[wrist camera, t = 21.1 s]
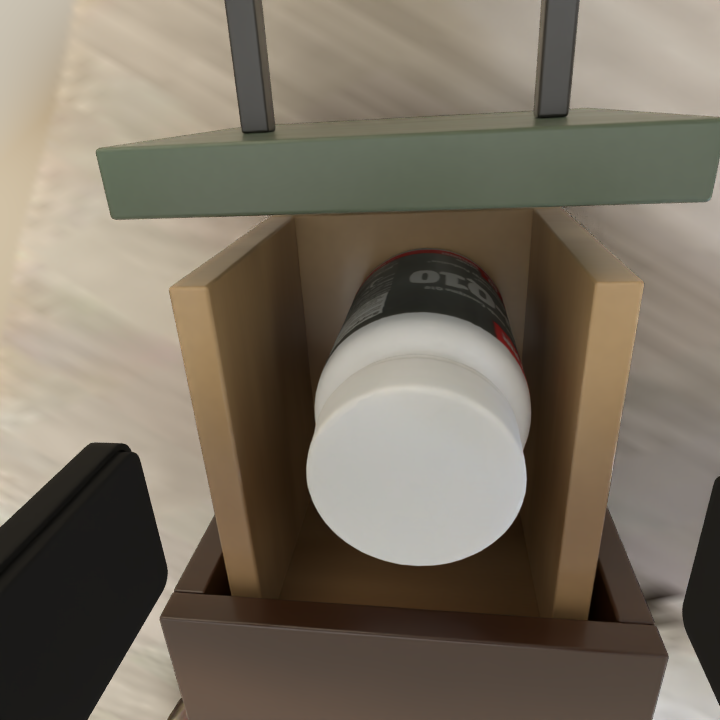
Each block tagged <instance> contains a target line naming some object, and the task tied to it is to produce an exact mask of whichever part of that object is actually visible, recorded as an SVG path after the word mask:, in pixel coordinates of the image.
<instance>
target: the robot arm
mask: <svg viewBox="0 0 720 720" xmlns="http://www.w3.org/2000/svg"><path fill="white" fill-rule="evenodd" d="M167 576H168V570H167V564H166V560H165V556H164V552H163V548H162V544H161V541H160V537H159V533H158V529H157V525H156V521H155V517H154V513H153V509H152V505H151V501H150V497H149V493H148V489H147V485H146V481H145V477H144V473H143V470H142V466H141V462H140V459H139V456H138V455H137V454H136V453H134V452H131V449H130V448H129V447H128V445H126V444H122V443H96V442H95V443H90V444H89V445H87V446H86V447H85V448H84V449H83V450H82V451H81V452H80V453H79V454H78V455H76V456H75V457H74V458H73V459H72V460H71V461H70V462H69V463H68V464H67V465H66V466H65V467H64V468H63V469H62V470H61V471H60V472H58V473H57V474H56V475H55V476H54V477H53V478H52V479H51V480H50V481H49V482H48V483H47V484H46V485H45V486H44V487H43V488H41V489H40V490H39V491H38V492H37V493H36V494H35V495H34V496H33V497H32V498H31V499H30V500H29V501H28V502H27V503H26V504H25V505H23V506H22V507H21V508H20V509H19V510H18V511H17V512H16V513H15V514H14V515H13V516H12V517H11V518H10V519H9V520H8V521H7V522H5V523H4V524H3V525H2V526H1V527H0V720H88V718H89V716H90V714H91V713H92V711H93V709H94V708H95V706H96V704H97V702H98V701H99V699H100V697H101V696H102V694H103V692H104V691H105V689H106V687H107V685H108V684H109V682H110V680H111V679H112V677H113V675H114V673H115V672H116V670H117V668H118V667H119V665H120V663H121V662H122V660H123V658H124V656H125V655H126V653H127V651H128V650H129V648H130V646H131V644H132V643H133V641H134V639H135V638H136V636H137V634H138V633H139V631H140V629H141V627H142V626H143V624H144V622H145V621H146V619H147V617H148V616H149V614H150V612H151V610H152V609H153V607H154V605H155V604H156V602H157V600H158V598H159V597H160V595H161V593H162V592H163V590H164V588H165V585H166V582H167ZM682 615H683V622H684V627H685V630H686V632H687V635H688V637H689V639H690V641H691V643H692V646H693V648H694V650H695V652H696V655H697V657H698V659H699V661H700V663H701V666H702V668H703V670H704V672H705V674H706V677H707V679H708V681H709V683H710V685H711V688H712V690H713V692H714V694H715V696H716V699H717V701H718V703H719V705H720V476H719V477H718V478H717V479H716V480H715V482H714V485H713V489H712V493H711V497H710V501H709V505H708V509H707V513H706V516H705V520H704V524H703V528H702V532H701V536H700V540H699V544H698V548H697V552H696V556H695V560H694V563H693V567H692V571H691V575H690V579H689V583H688V587H687V591H686V595H685V599H684V603H683V608H682Z"/></svg>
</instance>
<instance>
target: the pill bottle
mask: <svg viewBox="0 0 720 720" xmlns="http://www.w3.org/2000/svg"><path fill="white" fill-rule="evenodd" d="M314 407H315V422H316V427H315V432H314V435H313V439H312V442H311V445H310V448H309V452H308V458H307V466H306V476H307V485H308V489H309V493H310V495H311V498H312V501H313V503H314V505H315V507H316V509H317V511H318V513H319V514H320V516H321V517H322V519H323V520H324V522H325V523H326V524H327V525H328V526H329V527H330V528H331V530H332V531H333V532H334V533H336V534H337V535H338V536H339V537H340V538H341V539H343V540H344V541H345V542H346V543H348V544H349V545H351V546H353V547H354V548H356V549H358V550H359V551H361V552H363V553H365V554H368V555H370V556H373V557H375V558H378V559H381V560H384V561H388V562H392V563H396V564H402V565H414V566H430V565H440V564H447V563H451V562H455V561H458V560H462V559H464V558H466V557H469V556H471V555H474V554H476V553H478V552H480V551H482V550H483V549H484V548H486V547H488V546H489V545H491V544H492V543H494V542H495V541H496V540H497V539H498V538H500V537H501V536H502V535H503V534H504V533H505V532H506V530H507V529H508V528H509V527H510V526H511V524H512V523H513V521H514V520H515V518H516V517H517V515H518V512H519V510H520V508H521V506H522V503H523V499H524V496H525V492H526V481H527V476H526V465H525V459H524V454H523V449H524V446H525V444H526V441H527V438H528V434H529V429H530V424H531V401H530V391H529V387H528V383H527V380H526V376H525V374H524V370H523V366H522V363H521V360H520V357H519V353H518V350H517V347H516V343H515V340H514V337H513V334H512V330H511V327H510V324H509V320H508V317H507V313H506V309H505V306H504V302H503V299H502V297H501V294H500V292H499V290H498V288H497V287H496V285H495V284H494V282H493V280H492V279H491V278H490V277H489V275H488V274H487V273H486V272H485V271H484V270H483V269H482V268H481V267H480V266H478V265H477V264H476V263H475V262H473V261H472V260H470V259H468V258H467V257H465V256H463V255H460V254H458V253H455V252H452V251H448V250H443V249H436V248H422V249H414V250H410V251H406V252H403V253H400V254H398V255H396V256H394V257H392V258H390V259H388V260H386V261H385V262H383V263H382V264H381V265H379V266H378V267H377V268H375V269H374V270H373V271H372V272H371V273H370V274H369V275H368V277H367V278H366V279H365V280H364V282H363V283H362V285H361V286H360V288H359V290H358V291H357V293H356V295H355V298H354V300H353V303H352V305H351V307H350V309H349V312H348V314H347V316H346V319H345V321H344V323H343V326H342V328H341V330H340V332H339V335H338V337H337V339H336V341H335V343H334V346H333V348H332V350H331V353H330V355H329V357H328V359H327V360H326V363H325V366H324V368H323V371H322V373H321V376H320V379H319V383H318V386H317V390H316V396H315V405H314Z"/></svg>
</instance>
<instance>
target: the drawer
mask: <svg viewBox="0 0 720 720" xmlns="http://www.w3.org/2000/svg"><path fill="white" fill-rule="evenodd" d="M579 2H580V0H541V14H540V28H539V42H538V56H537V70H536V84H535V98H534V111H522V112H503V113H485V114H466V115H447V116H428V117H409V118H390V119H372V120H353V121H334V122H315V123H296V124H278V125H275V119H274V110H273V101H272V91H271V82H270V73H269V63H268V54H267V45H266V35H265V26H264V17H263V7H262V0H225V8H226V15H227V23H228V31H229V38H230V46H231V54H232V61H233V69H234V76H235V84H236V92H237V99H238V107H239V115H240V122H241V127H238V128H232V129H225V130H218V131H211V132H205V133H198V134H191V135H184V136H177V137H171V138H164V139H157V140H150V141H143V142H137V143H130V144H123V145H116V146H110V147H103V148H99V149H97V150H96V156H97V160H98V164H99V168H100V173H101V177H102V181H103V185H104V190H105V194H106V198H107V202H108V206H109V211H110V215H111V217H112V219H115V220H126V219H159V218H193V217H226V216H259V215H272V216H270V217H269V218H268V219H266V220H265V221H264V222H262V223H261V224H259V225H258V226H256V227H255V228H254V229H252V230H251V231H249V232H248V233H247V234H245V235H244V236H242V237H241V238H239V239H238V240H237V241H235V242H234V243H232V244H231V245H229V246H228V247H227V248H225V249H224V250H222V251H221V252H219V253H218V254H217V255H215V256H214V257H212V258H211V259H209V260H208V261H207V262H205V263H204V264H202V265H201V266H200V267H198V268H197V269H195V270H194V271H192V272H191V273H190V274H188V275H187V276H185V277H184V278H182V279H181V280H180V281H178V282H177V283H175V284H174V285H172V286H171V287H170V288H169V293H170V297H171V302H172V307H173V312H174V317H175V322H176V327H177V332H178V337H179V341H180V346H181V351H182V356H183V361H184V366H185V371H186V376H187V381H188V385H189V390H190V395H191V400H192V405H193V410H194V415H195V420H196V425H197V429H198V434H199V439H200V444H201V449H202V454H203V459H204V464H205V469H206V473H207V478H208V483H209V488H210V493H211V498H212V503H213V508H214V513H215V517H216V522H217V527H218V532H219V537H220V542H221V547H222V552H223V557H224V561H225V566H226V571H227V576H228V581H229V586H230V591H231V596H239V597H253V598H268V599H282V600H297V601H312V602H326V603H341V604H355V605H370V606H385V607H399V608H414V609H428V610H443V611H458V612H472V613H487V614H501V615H516V616H531V617H545V618H560V619H574V620H588V615H589V609H590V603H591V597H592V591H593V585H594V579H595V573H596V567H597V561H598V555H599V550H600V544H601V538H602V532H603V526H604V520H605V514H606V508H607V502H608V496H609V490H610V484H611V478H612V472H613V466H614V460H615V454H616V448H617V442H618V436H619V431H620V425H621V419H622V413H623V407H624V401H625V395H626V389H627V383H628V377H629V371H630V365H631V359H632V353H633V347H634V341H635V335H636V329H637V323H638V318H639V312H640V306H641V300H642V294H643V288H644V282H643V281H642V280H641V279H640V278H639V277H638V276H637V275H635V274H634V273H633V272H632V271H631V270H630V269H629V268H628V267H627V266H625V265H624V264H623V263H622V262H621V261H620V260H619V259H618V258H617V257H616V256H614V255H613V254H612V253H611V252H610V251H609V250H608V249H607V248H606V247H604V246H603V245H602V244H601V243H600V242H599V241H598V240H597V239H596V238H594V237H593V236H592V235H591V234H590V233H589V232H588V231H587V230H586V229H584V228H583V227H582V226H581V225H580V224H579V223H578V222H577V221H576V220H574V219H573V218H572V217H571V216H570V215H569V214H568V213H567V212H566V211H564V210H563V209H562V208H561V207H560V206H593V205H626V204H660V203H693V202H707V201H709V200H710V199H711V197H712V193H713V188H714V183H715V178H716V173H717V168H718V164H719V159H720V117H712V116H697V115H683V114H668V113H653V112H639V111H624V110H610V109H595V108H579V109H569V106H570V95H571V85H572V75H573V64H574V54H575V43H576V33H577V23H578V12H579ZM422 248H436V249H443V250H448V251H452V252H455V253H458V254H460V255H463V256H465V257H467V258H468V259H470V260H472V261H473V262H475V263H476V264H477V265H478V266H480V267H481V268H482V269H483V270H484V271H485V272H486V273H487V274H488V275H489V277H490V278H491V279H492V280H493V282H494V284H495V285H496V287H497V288H498V290H499V292H500V294H501V297H502V299H503V302H504V306H505V309H506V313H507V317H508V320H509V324H510V327H511V330H512V334H513V337H514V340H515V343H516V347H517V350H518V353H519V357H520V360H521V363H522V366H523V370H524V374H525V376H526V380H527V383H528V387H529V391H530V401H531V424H530V429H529V434H528V438H527V441H526V444H525V446H524V449H523V454H524V459H525V465H526V476H527V481H526V492H525V496H524V499H523V503H522V506H521V508H520V510H519V512H518V515H517V517H516V518H515V520H514V521H513V523H512V524H511V526H510V527H509V528H508V529H507V530H506V532H505V533H504V534H503V535H502V536H501V537H500V538H498V539H497V540H496V541H495V542H494V543H492V544H491V545H489V546H488V547H486V548H484V549H483V550H482V551H480V552H478V553H476V554H474V555H471V556H469V557H466V558H464V559H462V560H458V561H455V562H451V563H447V564H440V565H430V566H414V565H402V564H396V563H392V562H388V561H384V560H381V559H378V558H375V557H373V556H370V555H368V554H365V553H363V552H361V551H359V550H358V549H356V548H354V547H353V546H351V545H349V544H348V543H346V542H345V541H344V540H343V539H341V538H340V537H339V536H338V535H337V534H336V533H334V532H333V531H332V530H331V528H330V527H329V526H328V525H327V524H326V523H325V522H324V520H323V519H322V517H321V516H320V514H319V513H318V511H317V509H316V507H315V505H314V503H313V501H312V498H311V495H310V493H309V489H308V485H307V476H306V466H307V458H308V452H309V448H310V445H311V442H312V439H313V435H314V432H315V427H316V422H315V407H314V405H315V396H316V390H317V386H318V383H319V379H320V376H321V373H322V371H323V368H324V366H325V363H326V360H327V359H328V357H329V355H330V353H331V350H332V348H333V346H334V343H335V341H336V339H337V337H338V335H339V332H340V330H341V328H342V326H343V323H344V321H345V319H346V316H347V314H348V312H349V309H350V307H351V305H352V303H353V300H354V298H355V295H356V293H357V291H358V290H359V288H360V286H361V285H362V283H363V282H364V280H365V279H366V278H367V277H368V275H369V274H370V273H371V272H372V271H373V270H374V269H375V268H377V267H378V266H379V265H381V264H382V263H383V262H385V261H386V260H388V259H390V258H392V257H394V256H396V255H398V254H400V253H403V252H406V251H410V250H414V249H422Z"/></svg>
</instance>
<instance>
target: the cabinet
mask: <svg viewBox="0 0 720 720" xmlns="http://www.w3.org/2000/svg"><path fill="white" fill-rule="evenodd" d="M160 623H161V626H162V630H163V633H164V637H165V640H166V644H167V647H168V651H169V654H170V658H171V661H172V665H173V668H174V672H175V675H176V679H177V682H178V686H179V689H180V693H181V696H182V700H183V703H184V707H185V710H186V714H187V717H188V720H652V719H653V715H654V711H655V707H656V704H657V700H658V696H659V692H660V689H661V685H662V681H663V677H664V673H665V670H666V666H667V662H668V658H669V656H668V653H667V651H666V648H665V646H664V643H663V641H662V639H661V636H660V634H659V631H658V629H657V627H656V626H655V622H654V620H653V617H652V615H651V612H650V610H649V608H648V605H647V603H646V600H645V598H644V595H643V593H642V590H641V588H640V586H639V583H638V581H637V578H636V576H635V573H634V571H633V568H632V566H631V564H630V561H629V559H628V556H627V554H626V551H625V549H624V547H623V544H622V542H621V539H620V537H619V534H618V532H617V529H616V527H615V525H614V522H613V520H612V517H611V515H610V512H609V510H608V508H606V514H605V520H604V526H603V532H602V538H601V544H600V550H599V555H598V561H597V567H596V573H595V579H594V585H593V591H592V597H591V603H590V609H589V615H588V620H574V619H560V618H545V617H531V616H516V615H501V614H487V613H472V612H458V611H443V610H428V609H414V608H399V607H385V606H370V605H355V604H341V603H326V602H312V601H297V600H282V599H268V598H253V597H239V596H231V591H230V586H229V581H228V576H227V571H226V566H225V561H224V557H223V552H222V547H221V542H220V537H219V532H218V527H217V522H216V517H215V515H214V517H213V519H212V521H211V522H210V524H209V526H208V528H207V530H206V532H205V534H204V535H203V537H202V539H201V541H200V543H199V545H198V547H197V548H196V550H195V552H194V554H193V556H192V558H191V559H190V561H189V563H188V565H187V567H186V569H185V571H184V572H183V574H182V576H181V578H180V580H179V582H178V584H177V585H176V587H175V589H174V593H173V594H172V595H171V597H170V599H169V601H168V603H167V604H166V606H165V608H164V610H163V612H162V614H161V616H160Z"/></svg>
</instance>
